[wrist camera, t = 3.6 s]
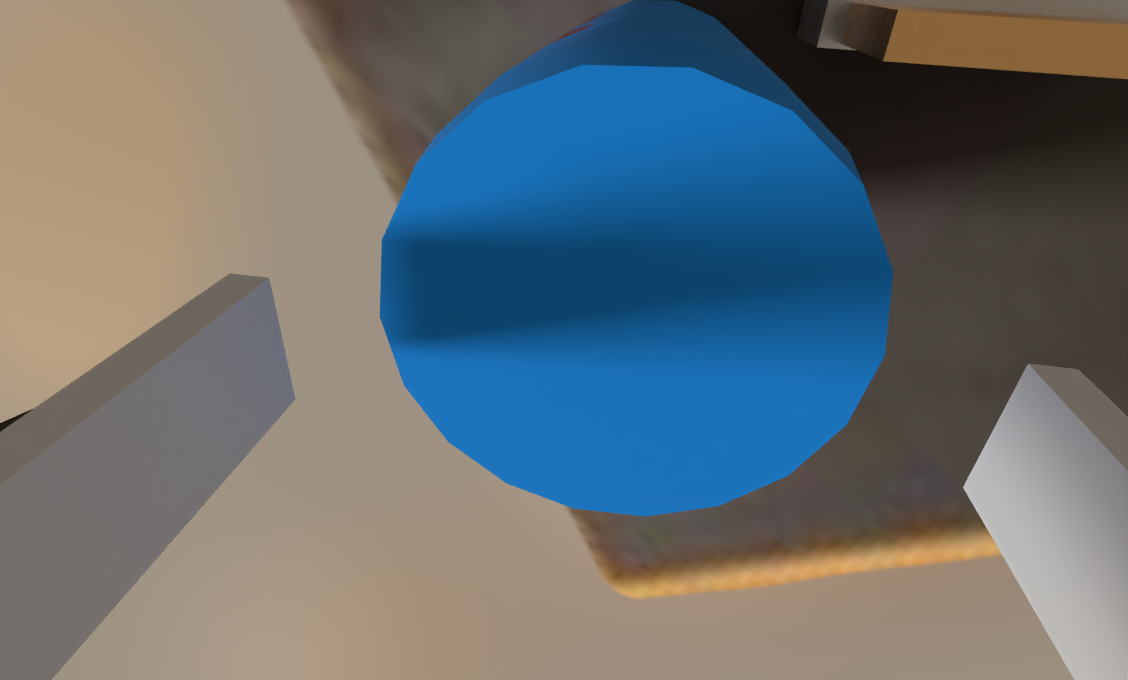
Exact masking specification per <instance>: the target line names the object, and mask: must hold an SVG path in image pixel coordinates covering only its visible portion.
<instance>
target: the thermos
mask: <svg viewBox="0 0 1128 680" xmlns="http://www.w3.org/2000/svg"><path fill="white" fill-rule="evenodd" d="M381 256H382V257H381V294H380V295H381V296H380V297H381V298H380V318H381V321H382V324H383V327H384V330H385V332H386V335H387V338H388V341H389V344H390V347H391V350H392V352H393V355H394V358H395V361H396V364H397V366H398V369H399V372H400V375H401V378H402V381H403V383H404V386H405V387H406V388H407V390H408V391H409V392H410V393H411V395H412V396H413V397H414V399H415V400H416V401H417V402H418V404H419V405H420V406H421V407H422V409H423V410H424V411H425V413H426V414H427V415H428V417H429V418H430V419H431V420H432V422H433V423H434V424H435V425H436V427H437V428H438V429H439V431H440V432H441V433H442V434H443V435H444V437H445V438H446V440H447V441H448V442H449V443H451V444H452V445H454V446H455V447H456V448H458V449H459V450H461V451H462V452H463V453H465V454H466V455H468V456H469V457H470V458H472V459H473V460H475V461H476V462H477V463H479V464H480V465H482V466H483V467H484V468H486V469H487V470H489V471H490V472H491V473H493V474H494V475H496V476H497V477H498V478H500V479H501V480H503V481H504V482H505V483H508V484H510V485H513V486H515V487H518V488H521V489H523V490H526V491H528V492H531V493H534V494H537V495H539V496H542V497H545V498H547V499H550V500H552V501H556V502H558V503H560V504H563V505H566V506H568V507H571V508H575V509H584V510H593V511H602V512H611V513H620V514H629V515H638V516H652V515H658V514H665V513H672V512H679V511H686V510H693V509H700V508H707V507H714V506H720V505H722V504H724V503H727V502H729V501H731V500H733V499H736V498H738V497H740V496H743V495H745V494H747V493H749V492H752V491H754V490H756V489H759V488H761V487H763V486H765V485H768V484H770V483H772V482H775V481H777V480H779V479H781V478H784V477H786V476H788V475H789V474H790V473H792V472H793V471H794V470H795V469H796V468H797V467H799V466H800V465H801V464H802V463H803V462H804V461H805V460H807V459H808V458H809V457H810V456H811V455H812V454H813V453H815V452H816V451H817V450H818V449H819V448H820V447H822V446H823V445H824V444H825V443H826V442H827V441H828V440H830V439H831V438H832V437H833V436H834V435H835V434H836V433H838V432H839V431H840V430H841V429H842V428H843V427H845V426H846V425H847V423H848V421H849V419H850V417H851V415H852V414H853V412H854V410H855V408H856V406H857V405H858V403H859V401H860V399H861V397H862V396H863V394H864V392H865V390H866V388H867V386H868V385H869V383H870V381H871V379H872V377H873V376H874V374H875V372H876V370H877V368H878V366H879V365H880V363H881V361H882V359H883V357H884V356H885V347H886V337H887V327H888V317H889V308H890V298H891V288H892V278H893V270H892V267H891V264H890V261H889V258H888V255H887V252H886V249H885V247H884V244H883V241H882V238H881V235H880V232H879V229H878V226H877V223H876V220H875V217H874V215H873V212H872V209H871V206H870V203H869V200H868V197H867V194H866V191H865V188H864V185H863V183H862V181H861V178H860V176H859V173H858V171H857V169H856V166H855V164H854V161H853V159H852V157H851V154H850V152H849V151H848V150H847V149H846V148H845V147H844V145H843V144H842V143H841V142H840V141H839V140H838V139H837V138H836V137H835V136H834V135H833V134H832V133H831V132H830V131H829V130H828V128H827V127H826V126H825V125H824V124H823V123H822V122H821V121H820V120H819V119H818V118H817V117H816V116H815V115H814V114H813V113H812V111H811V110H810V109H809V108H808V107H807V106H806V105H805V104H804V103H803V102H802V101H801V100H800V99H799V98H798V97H797V95H796V94H795V93H794V92H793V91H792V90H791V89H790V88H789V87H788V86H787V85H786V84H785V83H784V82H783V81H782V80H781V79H780V78H779V77H778V76H777V75H776V74H775V73H774V72H773V71H771V70H770V69H769V68H768V67H767V66H766V65H765V64H764V63H763V62H762V61H761V60H760V59H759V58H758V57H757V56H755V55H754V54H753V53H752V52H751V51H750V50H749V49H748V48H747V47H746V46H745V45H744V44H743V43H742V42H741V41H739V40H738V39H737V38H736V37H735V36H734V35H733V34H732V33H731V32H730V31H729V30H728V29H727V28H726V27H725V26H723V25H722V24H721V23H720V22H719V21H718V20H717V19H716V18H715V17H713V16H711V15H708V14H706V13H704V12H702V11H699V10H697V9H695V8H692V7H690V6H688V5H686V4H683V3H681V2H679V1H670V0H634V1H631V2H628V3H626V4H623V5H621V6H618V7H616V8H613V9H611V10H608V11H605V12H603V13H600V14H598V15H595V16H594V17H592V18H591V19H589V20H587V21H586V22H584V23H583V24H581V25H579V26H578V27H576V28H575V29H573V30H572V31H570V32H568V33H567V34H565V35H564V36H562V37H560V38H559V39H557V40H556V41H554V42H552V43H551V44H549V45H548V46H546V47H545V48H543V49H541V50H540V51H538V52H537V53H535V54H533V55H532V56H530V57H529V58H527V59H525V60H524V61H522V62H521V63H519V64H518V65H516V66H514V67H513V68H511V69H510V70H508V71H506V72H505V73H503V74H502V75H500V76H499V77H498V78H497V79H496V80H495V81H494V82H493V83H492V84H491V85H490V86H489V87H487V88H486V89H485V90H484V91H483V92H482V93H481V94H480V95H479V96H478V97H477V98H476V99H475V100H474V101H472V102H471V103H470V104H469V105H468V106H467V107H466V108H465V109H464V110H463V111H462V112H461V113H460V114H459V115H457V116H456V117H455V118H454V119H453V120H452V121H451V122H450V123H449V124H448V125H447V126H446V127H445V128H444V129H442V130H441V131H440V132H439V133H438V134H437V135H436V136H435V138H434V139H433V141H432V142H431V144H430V145H429V146H428V148H427V149H426V151H425V152H424V154H423V155H422V156H421V158H420V159H419V161H418V162H417V164H416V165H415V168H414V170H413V172H412V174H411V177H410V179H409V181H408V183H407V185H406V188H405V190H404V192H403V194H402V197H401V199H400V201H399V203H398V206H397V208H396V210H395V212H394V214H393V217H392V219H391V221H390V223H389V226H388V228H387V230H386V233H385V235H384V237H383V239H382V255H381Z"/></svg>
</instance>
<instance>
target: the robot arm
mask: <svg viewBox="0 0 1128 680" xmlns="http://www.w3.org/2000/svg"><path fill="white" fill-rule="evenodd" d="M294 400H295V396H294V391H293V387H292V382H291V377H290V373H289V368H288V363H287V359H286V354H285V349H284V345H283V340H282V335H281V331H280V326H279V321H278V317H277V313H276V308H275V303H274V298H273V293H272V289H271V284H270V279H269V278H265V277H257V276H248V275H239V274H229V275H227V276H226V277H224V278H223V279H221V280H220V281H218V282H217V283H215V284H214V285H213V286H211V287H210V288H208V289H207V290H205V291H204V292H202V293H201V294H199V295H198V296H197V297H195V298H194V299H192V300H191V301H189V302H188V303H186V304H185V305H184V306H182V307H181V308H179V309H178V310H176V311H175V312H173V313H172V314H171V315H169V316H168V317H166V318H165V319H163V320H162V321H160V322H159V323H157V324H156V325H155V326H153V327H152V328H150V329H149V330H147V331H146V332H144V333H143V334H142V335H140V336H139V337H137V338H136V339H134V340H133V341H131V342H130V343H128V344H127V345H125V346H124V347H123V348H121V349H120V350H118V351H117V352H115V353H114V354H112V355H111V356H110V357H108V358H107V359H105V360H104V361H102V362H101V363H99V364H98V365H97V366H95V367H94V368H92V369H91V370H89V371H88V372H86V373H85V374H84V375H82V376H81V377H79V378H78V379H76V380H75V381H73V382H72V383H70V384H69V385H67V386H66V387H65V388H63V389H62V390H60V391H59V392H58V393H56V394H55V395H53V396H51V397H50V398H49V399H47V400H46V401H44V402H43V403H41V404H40V405H38V406H37V407H36V408H34V409H31V410H29V411H27V412H25V413H22V414H20V415H18V416H16V417H13V418H11V419H9V420H7V421H4V422H2V423H0V680H51V679H52V678H53V677H54V676H55V675H56V674H57V672H58V671H59V670H60V669H61V668H62V667H63V666H64V665H65V663H66V662H67V661H68V660H69V659H70V658H71V656H72V655H73V654H74V653H75V652H76V651H77V649H78V648H79V647H80V646H81V645H82V644H83V643H84V641H85V640H86V639H87V638H88V637H89V636H90V634H91V633H92V632H93V631H94V630H95V629H96V628H97V627H98V625H99V624H100V623H101V622H102V621H103V620H104V618H105V617H106V616H107V615H108V614H109V612H111V610H112V609H113V608H114V607H115V606H116V605H117V604H118V602H119V601H120V600H121V599H122V598H123V597H124V595H125V594H126V593H127V592H128V591H129V590H130V589H131V587H132V586H133V585H134V584H135V583H136V582H137V581H138V579H139V578H140V577H141V576H142V575H143V574H144V573H145V571H146V570H147V569H148V568H149V567H150V566H151V564H152V563H153V562H154V561H155V560H156V559H157V558H158V556H159V555H160V554H161V553H162V552H163V551H164V550H165V548H166V547H167V546H168V545H169V544H170V543H171V541H172V540H173V539H174V538H175V537H176V536H177V535H178V533H179V532H180V531H181V530H182V529H183V528H184V526H185V525H186V524H187V523H188V522H189V521H190V520H191V518H192V517H193V516H194V515H195V514H196V513H197V511H198V510H199V509H200V508H201V507H202V506H203V505H204V504H205V502H206V501H207V500H208V499H209V498H210V497H211V495H212V494H213V493H214V492H215V491H216V490H217V489H218V487H219V486H220V485H221V484H222V483H223V482H224V481H225V479H226V478H227V477H228V476H229V475H230V474H231V472H232V471H233V470H234V469H235V468H236V467H237V466H238V464H239V463H240V462H241V461H242V460H243V459H244V457H245V456H246V455H247V454H248V453H249V452H250V451H251V449H252V448H253V447H254V446H255V445H256V444H257V443H258V441H259V440H260V439H261V438H262V437H263V435H264V434H265V433H266V432H267V431H268V430H269V428H270V427H271V426H272V425H273V424H274V423H275V422H276V421H277V419H278V418H279V417H280V416H281V415H282V413H284V411H285V410H286V409H287V408H288V407H289V405H291V403H292V402H293V401H294ZM963 488H964V490H965V491H966V493H967V495H968V497H969V498H970V500H971V502H972V503H973V505H974V507H975V509H976V510H977V512H978V514H979V516H980V517H981V519H982V521H983V523H984V524H985V526H986V528H987V529H988V531H989V533H990V535H991V536H992V538H993V540H994V542H995V543H996V545H997V547H998V548H999V550H1000V552H1001V554H1002V555H1003V557H1004V559H1005V561H1006V562H1007V564H1008V566H1009V567H1010V569H1011V571H1012V573H1013V574H1014V576H1015V578H1016V580H1017V581H1018V583H1019V585H1020V586H1021V588H1022V590H1023V591H1024V593H1025V595H1026V597H1027V598H1028V600H1029V602H1030V603H1031V605H1032V607H1033V609H1034V611H1035V612H1036V614H1037V616H1038V617H1039V619H1040V621H1041V623H1042V624H1043V626H1044V628H1045V630H1046V631H1047V633H1048V635H1049V637H1050V638H1051V640H1052V642H1053V643H1054V645H1055V647H1056V648H1057V650H1058V652H1059V654H1060V655H1061V657H1062V659H1063V661H1064V662H1065V664H1066V666H1067V668H1068V669H1069V671H1070V673H1071V675H1072V676H1073V678H1074V680H1128V417H1127V416H1126V415H1125V414H1124V413H1123V412H1122V411H1121V410H1120V409H1119V408H1118V407H1117V406H1116V405H1115V404H1114V403H1113V402H1112V401H1111V400H1110V399H1109V398H1107V397H1106V396H1105V395H1104V394H1103V393H1102V392H1101V391H1100V390H1099V389H1098V388H1097V387H1096V386H1095V385H1094V384H1093V383H1092V382H1091V381H1090V380H1089V379H1088V378H1087V377H1086V376H1085V375H1084V374H1082V373H1081V372H1080V371H1079V370H1078V369H1070V368H1061V367H1053V366H1044V365H1035V364H1028V365H1027V367H1026V369H1025V371H1024V373H1023V375H1022V376H1021V378H1020V380H1019V382H1018V384H1017V386H1016V388H1015V390H1014V392H1013V394H1012V395H1011V397H1010V399H1009V401H1008V403H1007V405H1006V407H1005V409H1004V411H1003V413H1002V414H1001V416H1000V418H999V420H998V422H997V424H996V426H995V428H994V430H993V432H992V433H991V435H990V437H989V439H988V441H987V443H986V445H985V447H984V449H983V451H982V452H981V454H980V456H979V458H978V460H977V462H976V464H975V466H974V468H973V470H972V471H971V473H970V475H969V477H968V479H967V481H966V483H965V485H964V487H963Z"/></svg>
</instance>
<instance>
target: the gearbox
mask: <svg viewBox="0 0 1128 680" xmlns="http://www.w3.org/2000/svg"><path fill="white" fill-rule="evenodd" d="M797 38H799V39H801V40H803V41H805V42H807V43H809V44H811V45H813V46H815V47H817V48H831V49H845V50H857V51H860V52H862V53H864V54H867V55H869V56H872V57H874V58H877V59H879V60H881V61H887V62H901V63H915V64H928V65H942V66H955V67H969V68H983V69H996V70H1010V71H1024V72H1037V73H1051V74H1065V75H1078V76H1092V77H1106V78H1119V79H1128V0H805V1H804V6H803V10H802V15H801V19H800V24H799V28H798V33H797Z"/></svg>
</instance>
